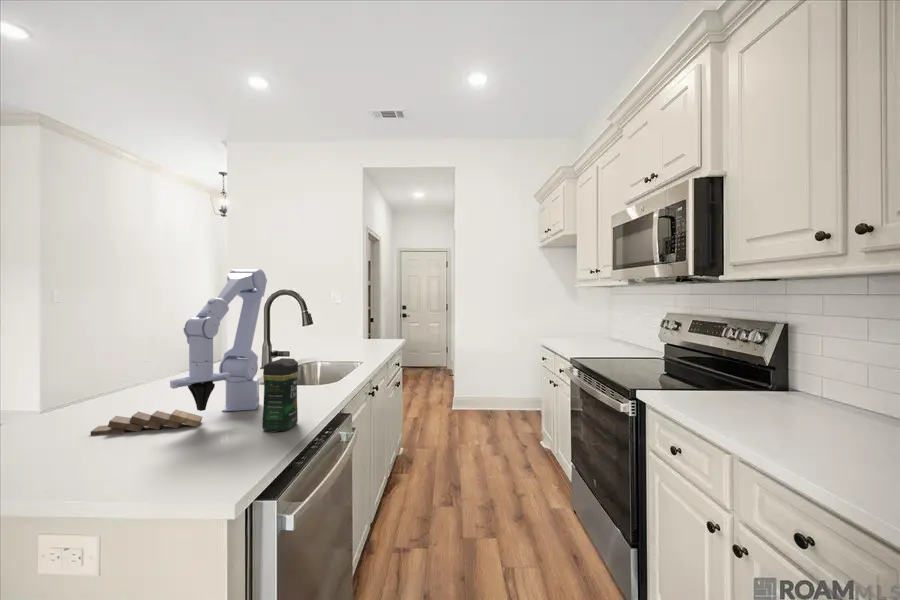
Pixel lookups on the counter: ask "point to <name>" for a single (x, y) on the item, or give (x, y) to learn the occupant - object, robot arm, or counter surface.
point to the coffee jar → (280, 395)
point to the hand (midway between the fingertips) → (201, 409)
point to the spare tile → (185, 418)
